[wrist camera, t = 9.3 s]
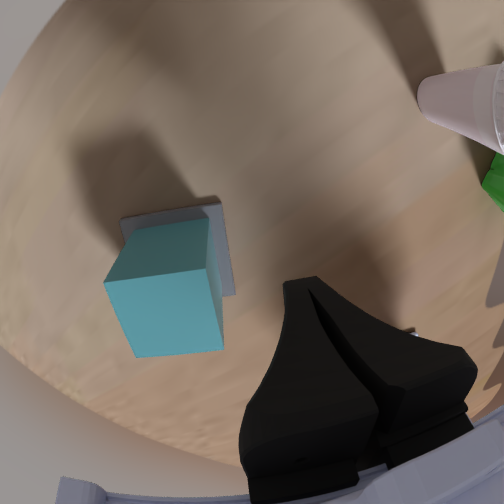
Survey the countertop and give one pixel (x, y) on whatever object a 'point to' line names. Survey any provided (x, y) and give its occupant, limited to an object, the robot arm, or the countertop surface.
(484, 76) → the smoothie
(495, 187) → the fruit basket
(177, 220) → the grey square base plate
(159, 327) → the teal foam brick
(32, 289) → the countertop surface
